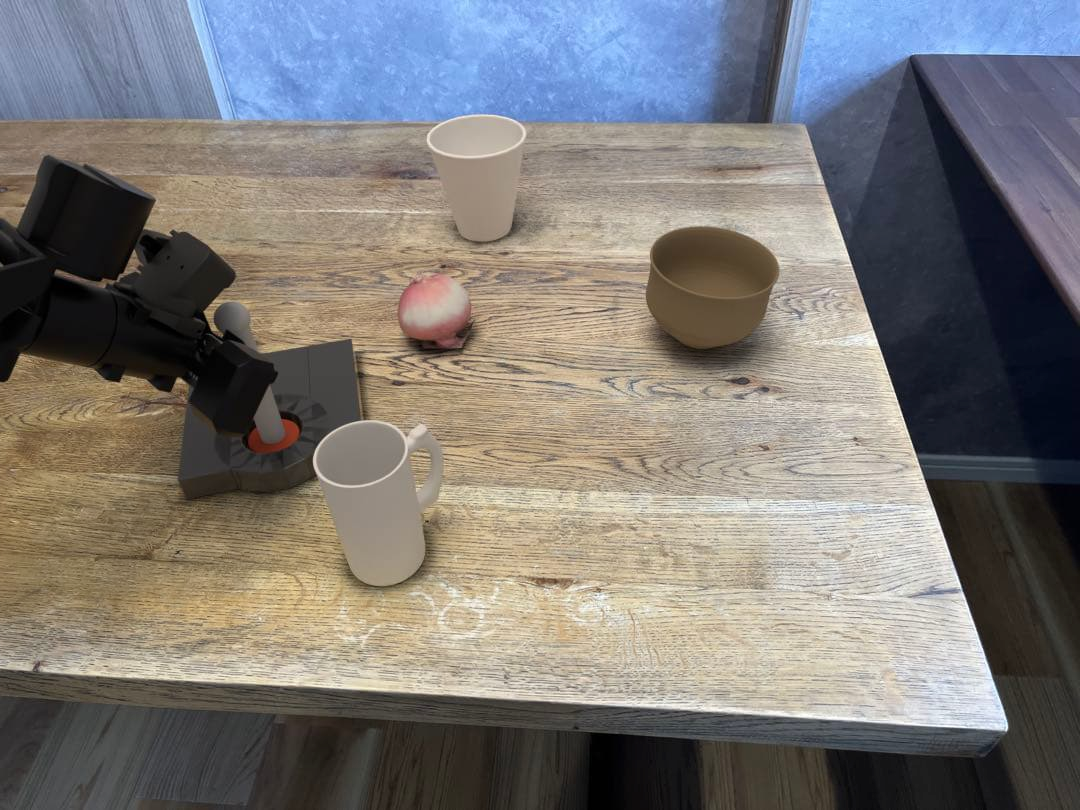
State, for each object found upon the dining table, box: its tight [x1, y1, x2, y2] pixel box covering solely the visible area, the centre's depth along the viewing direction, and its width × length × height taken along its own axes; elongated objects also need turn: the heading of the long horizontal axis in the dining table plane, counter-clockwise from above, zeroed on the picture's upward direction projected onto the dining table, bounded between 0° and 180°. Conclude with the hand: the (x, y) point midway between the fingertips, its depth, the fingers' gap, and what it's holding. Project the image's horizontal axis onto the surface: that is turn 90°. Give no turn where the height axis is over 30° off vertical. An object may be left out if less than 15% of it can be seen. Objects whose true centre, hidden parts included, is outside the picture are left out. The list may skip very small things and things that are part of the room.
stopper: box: [213, 300, 301, 453], centre depth 70 cm, size 5×5×16 cm
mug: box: [313, 419, 445, 587], centre depth 63 cm, size 10×7×12 cm, turn 133°
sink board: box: [177, 338, 365, 500], centre depth 77 cm, size 16×17×2 cm
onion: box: [397, 272, 477, 349], centre depth 85 cm, size 8×8×7 cm
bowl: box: [645, 225, 781, 350], centre depth 83 cm, size 13×13×10 cm
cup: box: [425, 113, 527, 243], centre depth 100 cm, size 12×12×12 cm
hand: (267, 370), depth 71 cm, fingers closed on stopper, 2 cm apart
